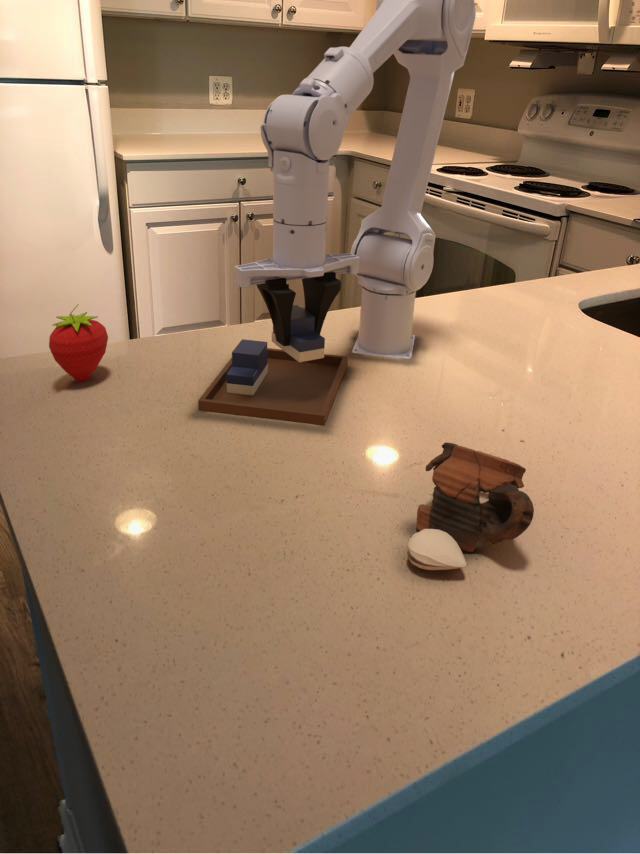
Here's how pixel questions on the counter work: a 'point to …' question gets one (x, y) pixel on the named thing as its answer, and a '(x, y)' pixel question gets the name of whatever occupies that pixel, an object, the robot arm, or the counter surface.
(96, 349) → the strawberry
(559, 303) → the counter surface
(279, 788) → the counter surface
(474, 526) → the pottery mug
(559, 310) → the counter surface
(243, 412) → the brown serving tray
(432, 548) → the white teardrop shell
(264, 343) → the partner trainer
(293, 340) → the trainer
